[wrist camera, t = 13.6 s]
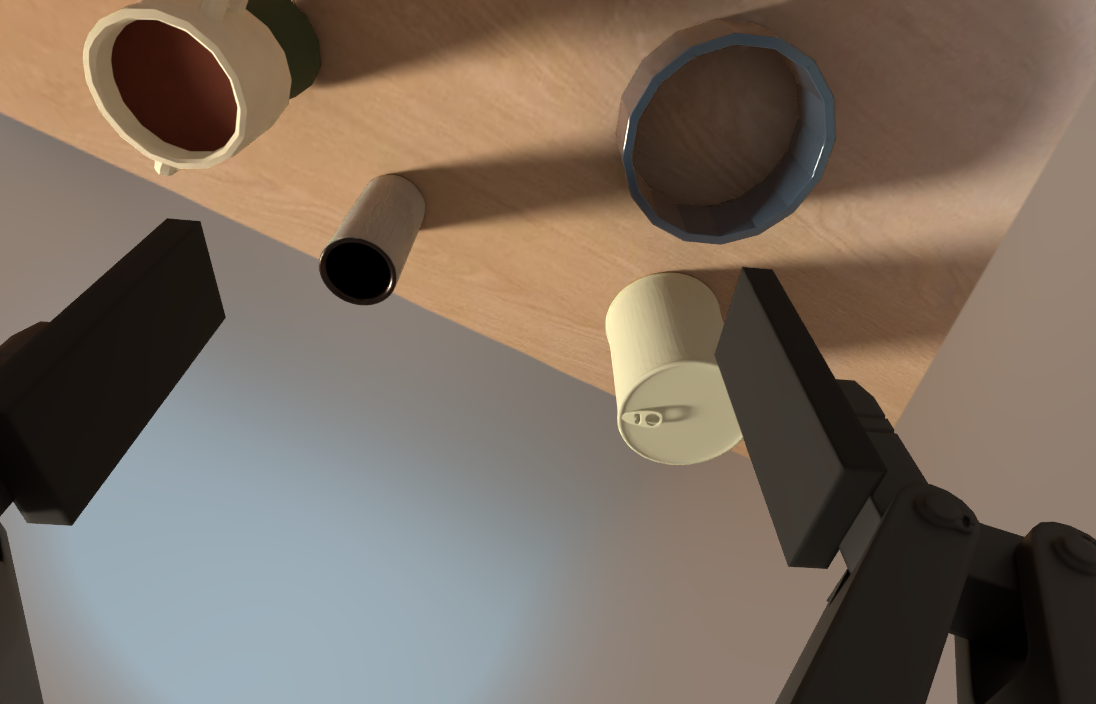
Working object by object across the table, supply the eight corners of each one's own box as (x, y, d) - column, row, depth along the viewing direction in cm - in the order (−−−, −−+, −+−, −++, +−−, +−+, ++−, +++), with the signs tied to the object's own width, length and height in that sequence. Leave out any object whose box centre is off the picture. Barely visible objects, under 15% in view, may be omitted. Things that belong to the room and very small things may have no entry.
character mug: (243, -86, 35) (107, -81, 24) (361, -5, 37) (284, 31, 27) (190, 86, 40) (61, 150, 30) (296, 147, 43) (210, 228, 32)
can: (606, 272, 48) (619, 366, 38) (727, 270, 48) (771, 364, 38) (604, 368, 53) (615, 472, 44) (712, 366, 53) (747, 470, 43)
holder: (579, 111, 41) (582, 133, 37) (748, -29, 36) (773, -20, 32) (681, 245, 46) (693, 277, 42) (839, 138, 42) (869, 164, 38)
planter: (353, 214, 45) (307, 284, 37) (376, 161, 43) (333, 223, 35) (410, 244, 47) (379, 318, 38) (436, 194, 44) (408, 261, 36)
